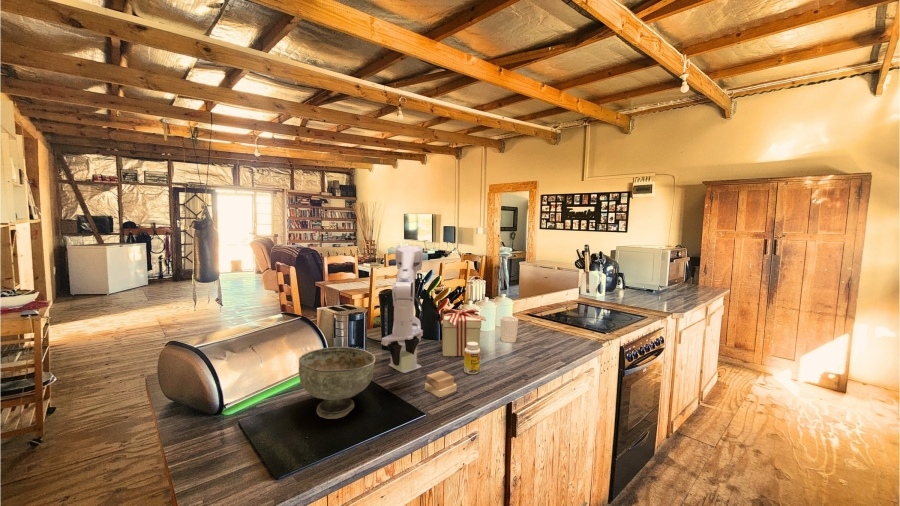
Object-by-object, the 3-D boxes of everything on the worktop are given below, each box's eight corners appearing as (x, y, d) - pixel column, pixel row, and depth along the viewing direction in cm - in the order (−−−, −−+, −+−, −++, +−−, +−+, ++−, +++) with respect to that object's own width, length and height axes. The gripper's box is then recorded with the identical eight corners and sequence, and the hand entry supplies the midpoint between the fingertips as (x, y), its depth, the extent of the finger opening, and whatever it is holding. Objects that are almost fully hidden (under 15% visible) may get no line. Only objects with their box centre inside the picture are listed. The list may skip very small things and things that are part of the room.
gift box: (443, 360, 140) (444, 316, 138) (439, 344, 158) (439, 304, 156) (487, 359, 142) (489, 315, 140) (478, 343, 160) (479, 304, 159)
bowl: (386, 410, 102) (387, 358, 101) (318, 437, 89) (318, 377, 88) (351, 386, 117) (351, 339, 115) (288, 406, 103) (287, 354, 102)
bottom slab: (424, 390, 116) (424, 383, 115) (441, 384, 120) (441, 377, 120) (440, 399, 111) (440, 391, 110) (456, 392, 116) (456, 384, 115)
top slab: (426, 382, 116) (426, 375, 115) (441, 378, 120) (441, 370, 119) (438, 389, 111) (438, 381, 111) (453, 384, 115) (453, 376, 115)
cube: (392, 367, 116) (392, 353, 115) (404, 363, 119) (404, 350, 118) (401, 372, 112) (401, 357, 112) (412, 368, 116) (413, 354, 115)
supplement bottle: (470, 376, 126) (470, 347, 126) (460, 370, 131) (461, 342, 130) (482, 372, 130) (483, 344, 129) (473, 367, 134) (474, 339, 133)
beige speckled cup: (520, 339, 167) (520, 318, 166) (513, 344, 160) (514, 322, 159) (503, 336, 171) (504, 315, 170) (496, 341, 164) (497, 319, 163)
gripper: (391, 327, 106) (391, 372, 108) (429, 318, 117) (428, 360, 118) (377, 322, 111) (377, 365, 113) (415, 314, 122) (414, 354, 123)
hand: (402, 362), depth 116 cm, fingers closed on cube, 4 cm apart
